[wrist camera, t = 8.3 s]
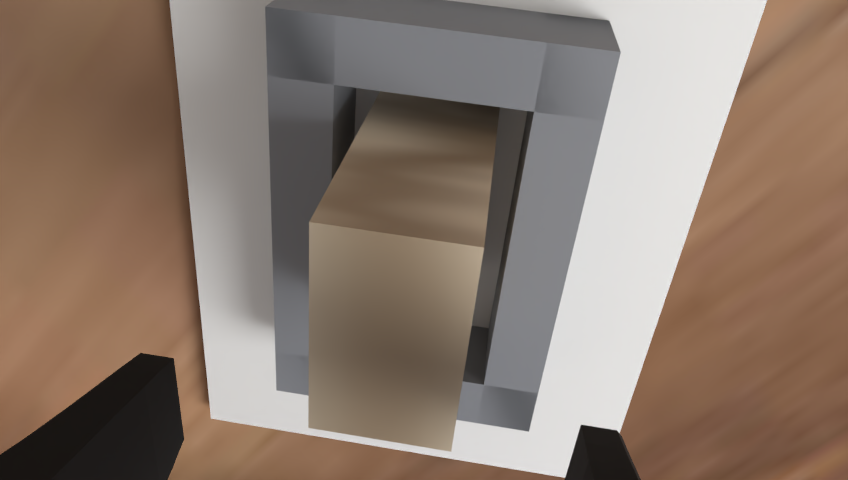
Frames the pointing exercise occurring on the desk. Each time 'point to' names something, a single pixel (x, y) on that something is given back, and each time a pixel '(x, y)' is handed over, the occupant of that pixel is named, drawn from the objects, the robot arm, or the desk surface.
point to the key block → (399, 270)
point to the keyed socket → (509, 197)
